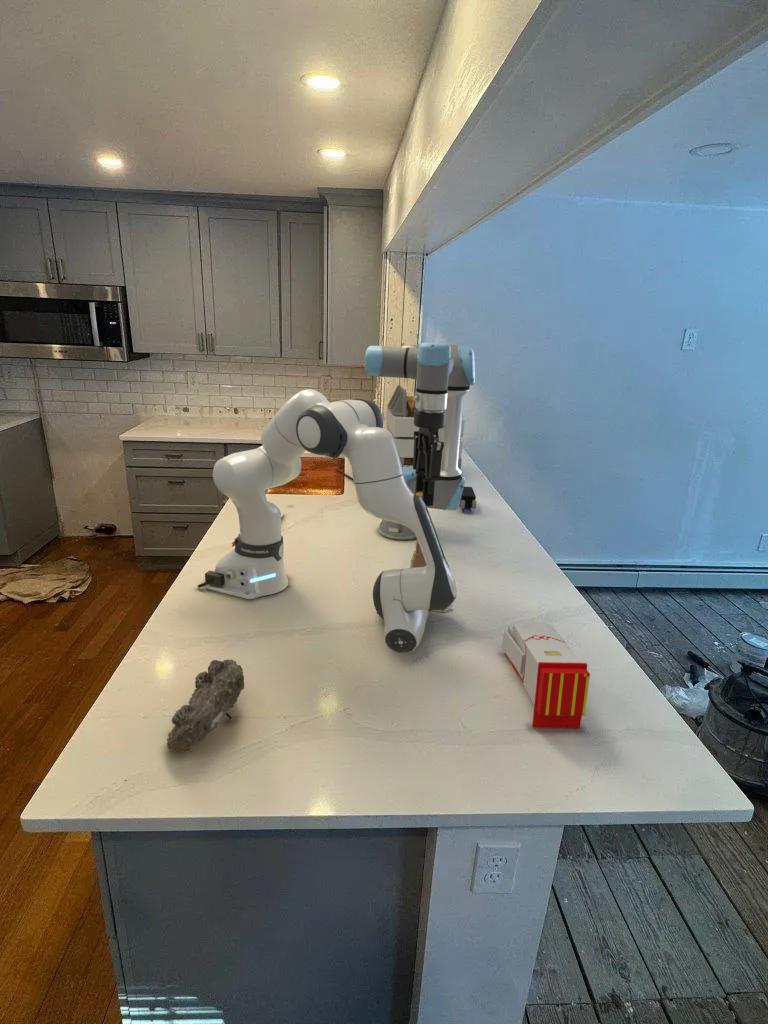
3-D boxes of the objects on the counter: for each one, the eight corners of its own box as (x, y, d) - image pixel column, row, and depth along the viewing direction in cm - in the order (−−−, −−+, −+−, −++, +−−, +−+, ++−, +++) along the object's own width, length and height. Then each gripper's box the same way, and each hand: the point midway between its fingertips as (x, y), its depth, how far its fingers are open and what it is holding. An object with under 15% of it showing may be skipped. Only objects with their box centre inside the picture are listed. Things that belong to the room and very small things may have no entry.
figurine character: (476, 517, 222) (470, 501, 236) (478, 500, 219) (472, 484, 232) (459, 517, 222) (454, 501, 236) (461, 499, 219) (456, 484, 232)
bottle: (404, 603, 153) (408, 540, 147) (417, 598, 156) (421, 536, 150) (416, 610, 149) (420, 546, 143) (429, 605, 152) (434, 542, 146)
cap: (429, 505, 141) (429, 497, 140) (413, 503, 142) (413, 494, 142) (434, 501, 145) (434, 492, 144) (418, 498, 146) (419, 490, 145)
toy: (548, 608, 134) (599, 669, 104) (543, 661, 136) (591, 735, 107) (497, 607, 133) (533, 668, 104) (493, 660, 136) (527, 734, 107)
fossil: (192, 660, 117) (244, 628, 112) (224, 691, 120) (276, 661, 115) (142, 746, 98) (202, 712, 93) (182, 779, 101) (242, 748, 96)
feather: (291, 508, 223) (294, 504, 222) (274, 533, 196) (277, 528, 195) (287, 506, 222) (290, 502, 222) (270, 530, 196) (272, 526, 195)
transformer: (382, 463, 289) (386, 382, 275) (445, 464, 293) (451, 384, 279) (390, 482, 257) (394, 392, 243) (460, 483, 261) (468, 394, 247)
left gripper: (454, 601, 136) (458, 576, 149) (371, 590, 139) (382, 567, 152) (452, 624, 138) (456, 597, 151) (370, 613, 141) (381, 588, 154)
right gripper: (403, 404, 142) (398, 492, 150) (429, 417, 127) (423, 515, 135) (430, 403, 144) (424, 491, 152) (460, 416, 129) (451, 512, 137)
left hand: (418, 582), depth 151 cm, fingers closed on bottle, 5 cm apart
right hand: (423, 502), depth 144 cm, fingers closed on cap, 4 cm apart
